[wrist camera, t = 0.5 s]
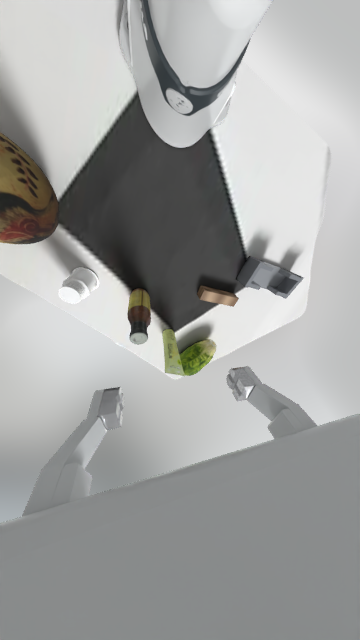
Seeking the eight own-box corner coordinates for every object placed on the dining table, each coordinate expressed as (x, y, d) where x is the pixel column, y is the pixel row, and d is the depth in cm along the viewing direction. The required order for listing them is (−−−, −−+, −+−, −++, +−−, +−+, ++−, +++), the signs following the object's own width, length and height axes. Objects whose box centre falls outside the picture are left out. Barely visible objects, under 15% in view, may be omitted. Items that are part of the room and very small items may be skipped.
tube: (174, 327, 59) (182, 368, 44) (176, 335, 62) (184, 376, 47) (161, 329, 58) (165, 372, 43) (163, 338, 62) (168, 380, 47)
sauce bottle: (128, 300, 48) (118, 345, 32) (133, 284, 44) (124, 325, 29) (147, 306, 50) (146, 349, 35) (153, 291, 47) (154, 332, 32)
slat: (196, 293, 51) (199, 299, 48) (200, 285, 49) (204, 290, 46) (228, 301, 55) (233, 306, 52) (233, 293, 53) (238, 298, 50)
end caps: (235, 279, 49) (244, 286, 45) (249, 255, 45) (260, 261, 40) (274, 290, 55) (286, 298, 51) (289, 271, 51) (303, 277, 46)
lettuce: (217, 338, 68) (227, 357, 59) (187, 361, 76) (192, 381, 67) (201, 328, 62) (210, 348, 53) (171, 354, 70) (174, 375, 61)
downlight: (96, 266, 39) (81, 281, 32) (104, 289, 44) (92, 307, 36) (65, 267, 39) (42, 282, 31) (76, 290, 43) (59, 308, 35)
